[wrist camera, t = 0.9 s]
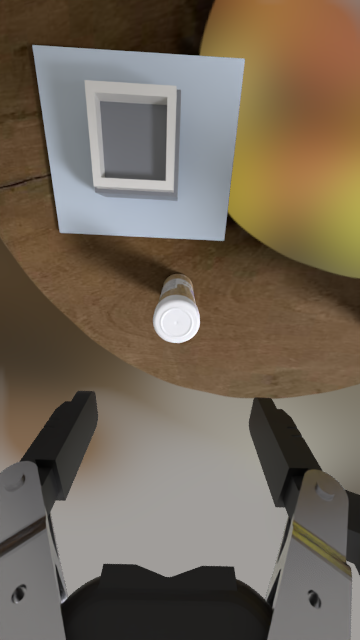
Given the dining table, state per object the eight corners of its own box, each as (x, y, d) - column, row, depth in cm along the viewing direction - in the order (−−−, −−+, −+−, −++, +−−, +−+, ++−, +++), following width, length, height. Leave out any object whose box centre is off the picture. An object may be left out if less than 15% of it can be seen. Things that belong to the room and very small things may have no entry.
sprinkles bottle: (198, 292, 34) (209, 330, 21) (173, 307, 35) (169, 352, 22) (182, 266, 32) (184, 290, 20) (156, 283, 33) (142, 316, 21)
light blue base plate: (242, 64, 24) (262, 11, 18) (223, 240, 31) (233, 243, 25) (36, 50, 24) (-10, -7, 18) (62, 232, 31) (35, 233, 25)
